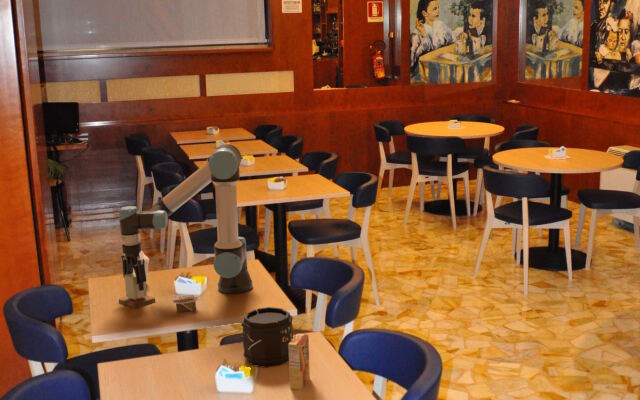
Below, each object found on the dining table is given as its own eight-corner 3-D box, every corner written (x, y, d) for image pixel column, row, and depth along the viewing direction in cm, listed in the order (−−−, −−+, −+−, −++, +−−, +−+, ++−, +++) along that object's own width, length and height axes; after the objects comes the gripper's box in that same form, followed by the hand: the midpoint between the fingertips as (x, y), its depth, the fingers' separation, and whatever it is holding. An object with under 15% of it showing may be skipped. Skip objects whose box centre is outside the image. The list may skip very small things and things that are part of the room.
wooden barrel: (246, 347, 285) (243, 306, 282) (296, 346, 284) (294, 305, 281) (238, 369, 268) (235, 325, 264) (291, 368, 267) (289, 324, 263)
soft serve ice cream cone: (138, 288, 354) (135, 254, 350) (129, 284, 360) (125, 250, 356) (154, 284, 359) (151, 250, 356) (145, 280, 365) (142, 246, 362)
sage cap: (146, 295, 337) (144, 274, 334) (134, 299, 332) (132, 277, 330) (138, 292, 341) (136, 271, 338) (126, 296, 336) (124, 275, 334)
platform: (211, 313, 321) (210, 298, 320) (166, 320, 316) (165, 304, 314) (205, 303, 333) (204, 289, 331) (162, 310, 327) (161, 295, 326)
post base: (155, 301, 337) (153, 282, 335) (135, 308, 329) (133, 289, 328) (138, 295, 345) (136, 277, 343) (119, 302, 337) (117, 283, 336)
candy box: (298, 376, 260) (296, 333, 257) (310, 378, 259) (308, 334, 255) (289, 389, 252) (287, 344, 248) (302, 390, 251) (300, 345, 247)
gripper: (110, 241, 335) (116, 293, 340) (136, 249, 322) (142, 302, 327) (125, 237, 340) (131, 288, 345) (152, 244, 328) (157, 297, 333)
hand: (136, 295), depth 336 cm, fingers closed on sage cap, 6 cm apart
